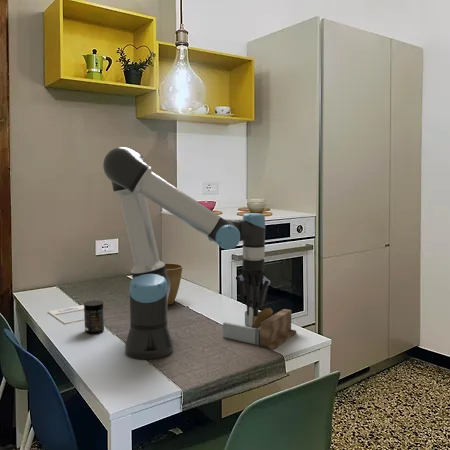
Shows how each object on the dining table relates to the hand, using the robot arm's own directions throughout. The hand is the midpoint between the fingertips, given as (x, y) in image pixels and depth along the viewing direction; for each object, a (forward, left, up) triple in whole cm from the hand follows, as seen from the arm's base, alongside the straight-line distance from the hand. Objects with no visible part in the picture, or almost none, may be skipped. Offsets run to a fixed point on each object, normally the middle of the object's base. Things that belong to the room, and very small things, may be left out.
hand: (252, 324), depth 165 cm
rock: (0, -2, -3) cm, 4 cm away
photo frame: (-19, +70, -4) cm, 72 cm away
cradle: (0, 0, -3) cm, 3 cm away
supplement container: (-28, +48, -4) cm, 56 cm away
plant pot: (+14, +50, -4) cm, 52 cm away
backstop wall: (0, -9, -3) cm, 10 cm away
